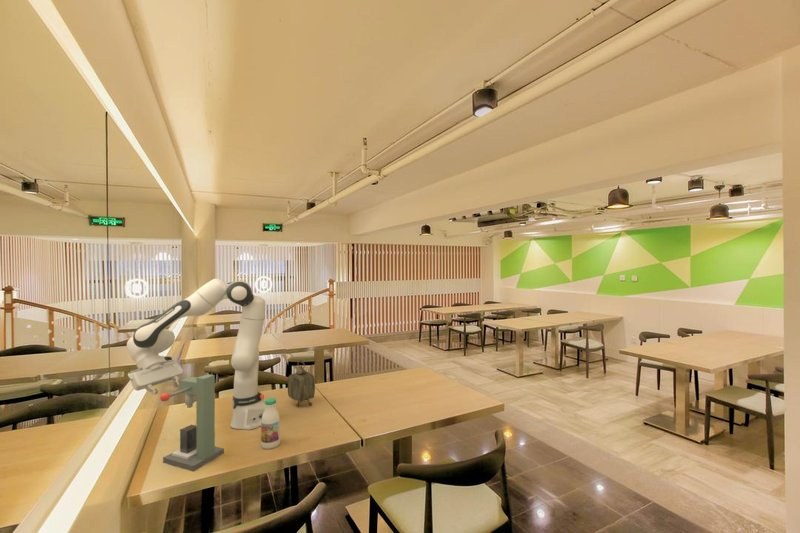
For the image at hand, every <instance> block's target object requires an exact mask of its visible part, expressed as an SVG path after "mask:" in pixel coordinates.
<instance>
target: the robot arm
mask: <svg viewBox="0 0 800 533" xmlns="http://www.w3.org/2000/svg"><path fill="white" fill-rule="evenodd" d="M226 299H228V300H229V301H230V302H232V303H234V304H236V305H239V306H241V309H242V311H241V316H240V321H239V325H238V326H239V327H238V332H237V335H236V338H235V342H234V346H233V350H232V353H231V354H232V355H231V359H230V364H231V367H232V368H233V369H234V378H233V395H232V408H233V410H232V416H231V421H230V424H229V425H230V427H231V428H232V429H236V430H237V429H238V430H248V431H249V430H252V429H256V428H258V427H261V420H262V415H263V413H264V411H265V407H266V406H265V400H266V399H265V394H263V393H262V392H260V391H259V390H258V389H259V384H258V382H259V381H258V380H259V363H260V348H259V347H260V342H261V338H262V333H263V327H264V322H265V317H266V301H265V299H264V298H263V297H261V296H258V295H254V294H253V291H252V287H251V284H249V283H248V282H247V281H244V280H235V281H231V282H228V283H226V282H225V281H224V280H222V279H220V278H213V279H211V280H209V281H207V282H206V283H205V284H203V285H202V286H201V287H199V288H198V289H197V290H195V291H194V292H193V293H192V294H190V295H189V296H188V297H186V298H184V299H182V300H180V301H178V302H176V303H175V304H172V306H170V307H169V308H167V309H166V310H165V311H163V312H162V313H161V314H160V315H157V317H155V318H154V319H152V320H150V321H149V322H146V323H143V324H141V325H140V326H138V327H137V328H136V329H135V330H134V332H133V336H131V337H130V338H129V339H128V340H127V342H126V349H127V352H128V354H129V356H130V358H131V359H132V360H133V361H134V362H135V364H136V367H137V369H133V370H130V371H129V372H128V373H127V377H128V379H129V380H130V384H131V386H132V387H133V389H134V390H135V391H142V390H144V389H145V390H146V391H147V392H150V393H151V394H152V396H154V395H155V396H156V395H158V393H159V391H158V389H157V388H154V386H157V385H160V384H163V383H167V382H169V381H172V382H173V383H172V387H173V388H178V387H180V382H179V378H181V377H182V375H183V373H184V370H183V368H182V367H181V365H180V364H179V363H178V362H177V361H175V358H174V357H173V356H170V355H169V356H165V355H160V353H163V352H164V351H166V350H168V349H169V348H172V346H173V345H174V342H175V339H176V338H175V334H174V332H173V331H171V330H170V329H167V328H169V327H170V326H171V325H173V323H175V322H177V321H178V320H180V319H182V318H185V317H193V316H194V317H196V316H197V317H198V316H203V315H206V314H207V313H209V312H210V311H212V310H213V309H214V308H215V307H216V306H217V305H218V304H219V303H221V302H222V301H224V300H226Z"/></svg>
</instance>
